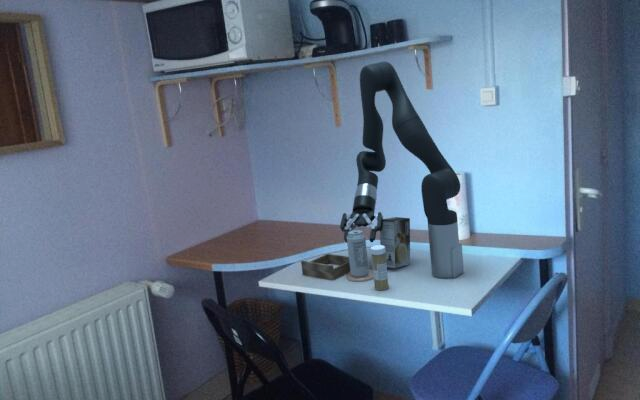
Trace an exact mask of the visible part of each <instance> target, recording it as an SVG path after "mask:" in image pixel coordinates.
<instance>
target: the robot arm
mask: <svg viewBox="0 0 640 400" xmlns="http://www.w3.org/2000/svg"><path fill="white" fill-rule="evenodd" d="M359 87H360V89H359V90H360V99H361V100H360V101H361V107H362V109H361V110H362V117H363V120H362V121H363V124H362V125H363V126H362V145H363V147H364V148H366V149H368V150H371V151H368V150H363V151H359V153H357V155H356V160H355V161H356V162H355V163H356V167H357V173H358V174H357V175H358V176H357V178H358V179H357V186H356V189H355V192H354V198H353V204H352V212H351V213H350V214H347V213H345V212H344V213H343V214H342V216H341V221H340V225H339V229H340V230H341V232H342V233H344V234H343V240H344V241H345V243H347V236H348V232H350V231H353V230H356V228H357V227H358V228H361V227H364V228H366V227H367V226H368V227H369V228H370V232H369V239H368V240H369V243H373V242H374V241H375V240H376V236H377V232H380V231H382V226H383V219H384V216H383V213H382V212H380V211H379V212H377V213H375V210H376V205H377V204H376V203H377V196H378V195H377V194H378V183H379V176H378V175H377V174H376V173H380V172H383V170H384V169H385V168H386V165H387V164H386V163H387V162H386V155H385V152H384V147H383V145H384V144H383V137H384V122H383V119H382V117H381V115H380V113H379V111H378V109H377V106H376V93H379V92H383V91H385V93H387V96H388V98H389V99H390V102H391V106H392V111H391V113H392V114H391V125H392V129H393V131H394V134H395V135H396V136H397V138H398V141H399V143H401V145H402V146H403V147H404V148H405V149H406V150H407V151H408V152H409V153H411V154H412V155H414V157H416V158H417V159H419V160H420V161H421V162H422V163H423V164H424V165H425V167H426V168H427V170H428V171H429V173H428V174H426V175H425V176H424V177H423V178H422V180H421V185H420V186H421V198H422V205H423V211H424V215H425V217H426V220H427V229H428V242H429V255H430V266H431V267H430V269H431V275H432V276H433V277H435V278H440V279H452V278H453V279H456V278H457V277H458V276H460V275H462V274H463V273H465V270H464V256H463V244H462V243H460V237H459V223H458V214H457V212H456V211H455V210H453V209H449V207H448V201H447V200H449V199H452V198H455V197H456V196H458V195H459V193H460V191H461V182H460V179H459V176H458V175H457V173H456V171H455V170H454V169H453V167H452V166H451V165H450V164H449V162H448V161H447V160H446V158H445V157H444V155H443V154H442V152H441V151H440V149H439V148H438V146H437V144H436V143H435V141H434V139H433V138H432V136H431V135H430V133H429V131H428V129H427V127H426V125H425V123H424V122H423V121H422V118H421V117H420V115H419V113H418V112H417V110H416V108H414V105H413V104H412V102H411V100H410V98H409V96H408V95H407V93H406V91H405V88H404V85H403V84H402V81H401V79H400V77H399V75H398V73H397V71H396V69H395V67H394V65H392V64H391V63H390V62H388V61H381V62H376V63H370V64H367V65H364V66H363V67H362V68H361V70H360V73H359ZM375 219H376V225H374V223H373V221H374V220H375Z"/></svg>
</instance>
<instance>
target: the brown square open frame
mask: <svg viewBox="0 0 640 400" xmlns="http://www.w3.org/2000/svg"><path fill="white" fill-rule="evenodd" d="M300 265H301V270H302V271H301V272H302V276H306V277H312V278H318V279H323V280H328V281H335V280H337V279H340V278H341V277H343V276H345V275H347V274H348V273H350V272H351V271H350V262H349V255H348V256H347V255H339V254H333V253H326V254H323V255H321V256H319V257H317V258H315V259H312V260H310V261H308V260H301V261H300ZM334 265H336V267H334Z"/></svg>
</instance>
